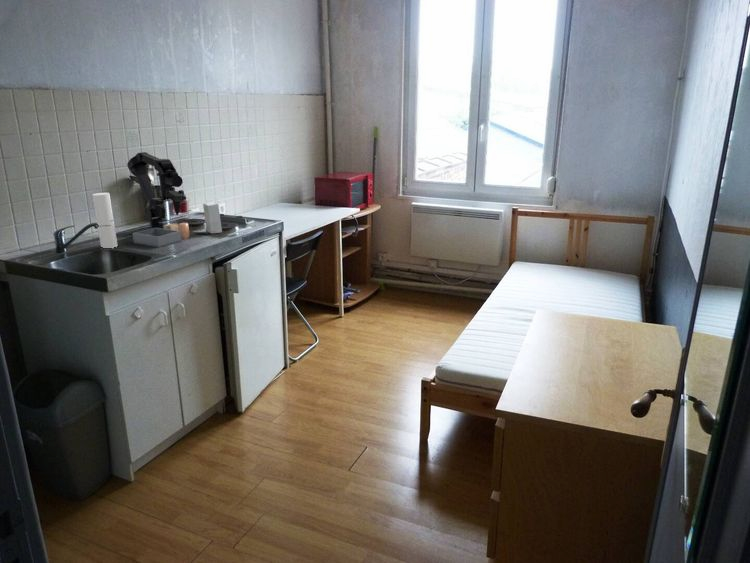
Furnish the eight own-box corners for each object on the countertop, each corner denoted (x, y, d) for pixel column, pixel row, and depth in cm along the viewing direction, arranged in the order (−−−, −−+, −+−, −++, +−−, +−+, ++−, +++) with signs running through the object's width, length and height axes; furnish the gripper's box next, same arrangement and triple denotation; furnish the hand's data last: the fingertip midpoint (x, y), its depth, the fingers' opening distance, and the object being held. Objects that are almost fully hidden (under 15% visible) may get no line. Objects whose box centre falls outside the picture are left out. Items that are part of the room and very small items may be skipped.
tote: (133, 243, 272) (132, 233, 270) (156, 237, 283) (155, 227, 281) (158, 247, 263) (157, 237, 262) (181, 241, 275) (180, 231, 273)
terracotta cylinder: (177, 238, 281) (175, 224, 279) (184, 236, 285) (183, 222, 283) (184, 239, 279) (182, 225, 277) (191, 237, 283) (190, 223, 281)
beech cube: (165, 235, 288) (163, 225, 287) (173, 233, 292) (171, 223, 291) (172, 236, 286) (170, 226, 284) (179, 234, 290) (178, 224, 288)
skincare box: (222, 232, 291) (219, 204, 287) (210, 234, 288) (207, 205, 284) (216, 229, 298) (214, 201, 294) (205, 231, 295) (202, 202, 290)
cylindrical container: (121, 245, 268) (112, 193, 260) (109, 249, 261) (101, 195, 253) (109, 244, 270) (100, 192, 262) (97, 248, 263) (88, 194, 256)
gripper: (162, 189, 270) (166, 221, 275) (192, 183, 285) (195, 214, 290) (146, 187, 275) (150, 219, 280) (176, 182, 290) (180, 212, 295)
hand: (170, 216), depth 286 cm, fingers open, 9 cm apart
